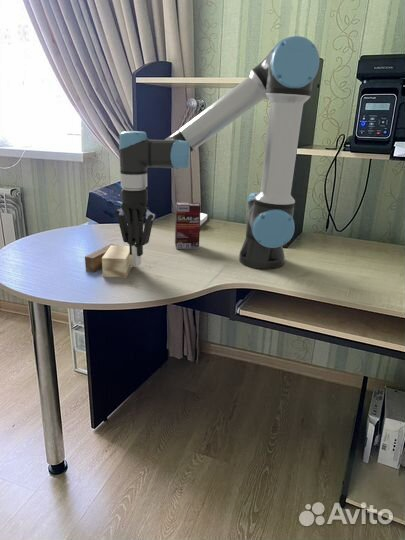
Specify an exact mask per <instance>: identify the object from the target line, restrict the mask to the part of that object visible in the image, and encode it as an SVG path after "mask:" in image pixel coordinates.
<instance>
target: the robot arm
mask: <svg viewBox="0 0 405 540" xmlns="http://www.w3.org/2000/svg"><path fill="white" fill-rule="evenodd" d="M319 68H320V54H319V51H318V49H317V47H316V45H315V44H314V43H313V41H311V40H310V39H308V38H306V37H304V36H300V35H297V36H296V35H294V36H288V37H285V38H283V39H282V40H280V41H279V42H278V43H277V44H276V45H275V46H274V48H273V49H272V50H270V52H269V53H268V54H267V56H266V57H264V59H262V61H261V62H259V63H258V65H256V66H255V67H254V68H252V69H251V70H250V73H249V76H248V77H246V78H245V79H243V80H242V81H241V82H240V83H238V84H237V85H236V86H235V87H233V88H232V89H230V90H229V91H227V93H225V94H224V95H223V96H221V97H220V98H218V100H216V101H214V103H212V104H211V105H209V106H208V107H206V108H205V109H204V110H202V111H201V112H200V113H199V114H197V115H196V116H195V117H193V118H192V119H190V120H189V121H188V122H187V123H185V124H184V125H183V126H181V127H180V128H178V130H175V132H174V133H172V134H171V135H169V136H167V137H166V138H165V139H150V138H148V137H147V136H148V135H147V133H146V131H138V130H125V131H121V132H120V133H119V145H118V147H119V148H118V152H119V167H120V173H119V175H120V187H121V190H120V195H121V196H120V197H121V203H122V204H121V206H120V208H118V209H117V210H114V212H113V213H114V215H115V217H116V218H117V220H118V221H117V222H118V226H119V229H120V233H121V237H122V240H123V242H124V243H127V244H128V246H129V247H130V255H132V267H135V268H137V267H139V266H140V265H141V264H142V256H143V254H144V252H143V251H144V248H143V247H144V246H145V245H146V244H148V243H150V238H151V233H152V227H153V223H154V220H155V219H156V217H157V214H156V213H155V212H154V213H153V212H151V211H150V207H149V206H148V201H149V198H148V197H149V196H148V194H149V193H148V189H147V188H148V168H151V169H152V168H159V169H160V168H161V169H175V170H179V169H188V168H189V167H190V161H191V153H192V152H193V151H194V150H196V149H197V148H199V147H200V146H201V145H203V144H204V143H205V142H207V141H208V140H210V139H211V138H212V137H214V136H216V135H217V134H218V133H219V132H221V131H222V130H224V129H225V128H226V127H228V126H229V125H231V124H232V123H233V122H235V121H236V120H237V119H239V118H240V117H241V116H243V115H244V114H246V113H247V112H249V111H250V110H251V109H253V108H254V107H256V106H257V105H258V104H259V103H261V102H263V100H265V101H269V102H270V105H269V112H268V121H267V130H266V139H265V140H266V141H265V145H264V146H265V147H264V156H263V163H262V165H263V166H262V173H261V174H262V175H261V183H260V191H259V192H251V193H250V194H249V195H248V200H247V214H246V215H247V216H246V229H245V230H246V231H245V239H244V241H243V243H242V247H241V249H240V252H239V255H238V261H239V262H240V263H241V264H242V265H244V266H246V267H251V268H253V267H254V268H255V269H260V268H262V269H263V270H269V269H268V268H272V269H277V267H278V268H280V266H281V267H282V266H284V264H285V258H286V256H285V253H284V248H283V246H284V245H286V244H288V242H290V241H291V239H292V238H293V236H294V233H295V227H296V226H295V224H296V223H295V220H294V213H295V212H294V211H295V204H296V200H295V198H294V197H293V196H292V187H293V180H294V173H295V172H294V171H295V165H296V160H297V159H296V157H297V152H298V145H299V137H300V131H301V123H302V116H303V115H302V114H303V110H304V104H305V103H306V102H307V101H308V100H309V99H310V98H311V97H312V89H313V82H314V79H315V77H316V76H317V74H318V70H319ZM144 219H145V220H144ZM144 221H145V223H144Z"/></svg>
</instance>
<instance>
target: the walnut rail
mask: <svg viewBox="0 0 405 540" xmlns="http://www.w3.org/2000/svg"><path fill="white" fill-rule="evenodd" d="M111 245H115V246H120V244H115V243H110V244H108V245H106V246H104V247H102V248H100V249H97V250H96V251H93V252H92V253H89V254H87V255H86V256H84V263H85V271H87V272H90V273H91V272H92V273H95V272H97V271H99V270H100V269H102V257H103V256H104V254H105V253H106V251H107V250H108V249H109V247H110V246H111Z"/></svg>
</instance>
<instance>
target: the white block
mask: <svg viewBox="0 0 405 540" xmlns="http://www.w3.org/2000/svg"><path fill="white" fill-rule="evenodd" d="M207 220H208V214H207V213H203V212H200V227H201V226H202V225H203V224H204V223H205V222H206V221H207Z"/></svg>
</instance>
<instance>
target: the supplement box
mask: <svg viewBox="0 0 405 540" xmlns="http://www.w3.org/2000/svg"><path fill="white" fill-rule="evenodd" d="M201 206H202V205H201V204H200V202H175V218H174V220H175V223H174V225H175V226H174V246H175V249H177V250H179V249H182V250H183V249H184V250H185V249H188V250H189V249H190V250H191V249H194V250H195V249H200V238H201V237H200V236H201V235H200V233H201V226H200V213H201V210H202V209H201V208H202V207H201Z"/></svg>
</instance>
